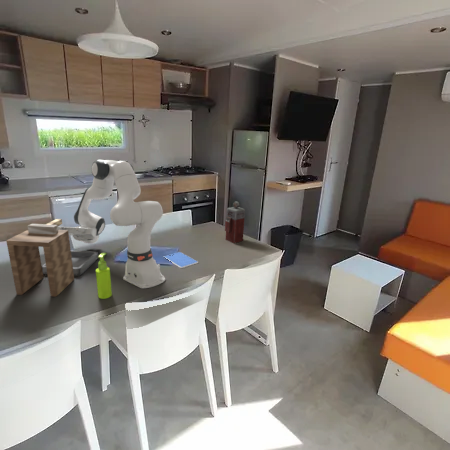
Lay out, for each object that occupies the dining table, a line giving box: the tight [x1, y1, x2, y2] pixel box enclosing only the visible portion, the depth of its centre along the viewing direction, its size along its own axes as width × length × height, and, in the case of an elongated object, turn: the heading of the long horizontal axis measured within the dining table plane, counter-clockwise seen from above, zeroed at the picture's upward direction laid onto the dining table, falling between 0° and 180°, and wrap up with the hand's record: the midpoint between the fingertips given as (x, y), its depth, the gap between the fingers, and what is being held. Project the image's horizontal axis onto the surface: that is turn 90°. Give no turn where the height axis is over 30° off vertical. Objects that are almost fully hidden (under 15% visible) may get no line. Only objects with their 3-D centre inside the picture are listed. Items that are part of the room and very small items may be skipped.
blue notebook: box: [163, 251, 199, 269], centre depth 178 cm, size 19×13×1 cm, turn 42°
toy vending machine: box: [224, 201, 246, 244], centre depth 208 cm, size 9×11×28 cm
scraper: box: [27, 218, 63, 234], centre depth 143 cm, size 15×12×4 cm
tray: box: [41, 249, 99, 277], centre depth 164 cm, size 22×20×4 cm
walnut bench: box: [5, 229, 75, 297], centre depth 139 cm, size 16×18×26 cm
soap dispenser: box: [95, 252, 113, 300], centre depth 135 cm, size 6×7×20 cm
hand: (69, 228), depth 160 cm, fingers open, 8 cm apart
